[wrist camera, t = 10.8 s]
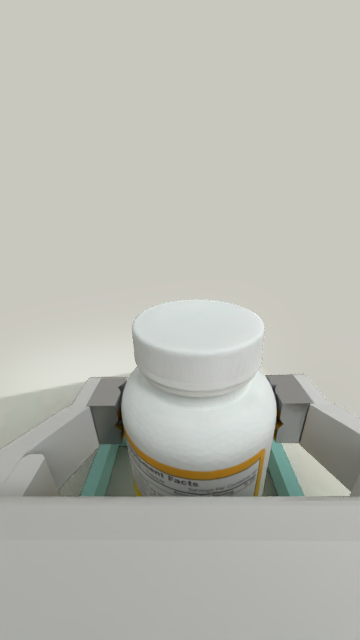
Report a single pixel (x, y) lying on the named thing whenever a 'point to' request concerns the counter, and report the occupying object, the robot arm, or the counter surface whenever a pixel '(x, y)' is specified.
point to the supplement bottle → (198, 401)
